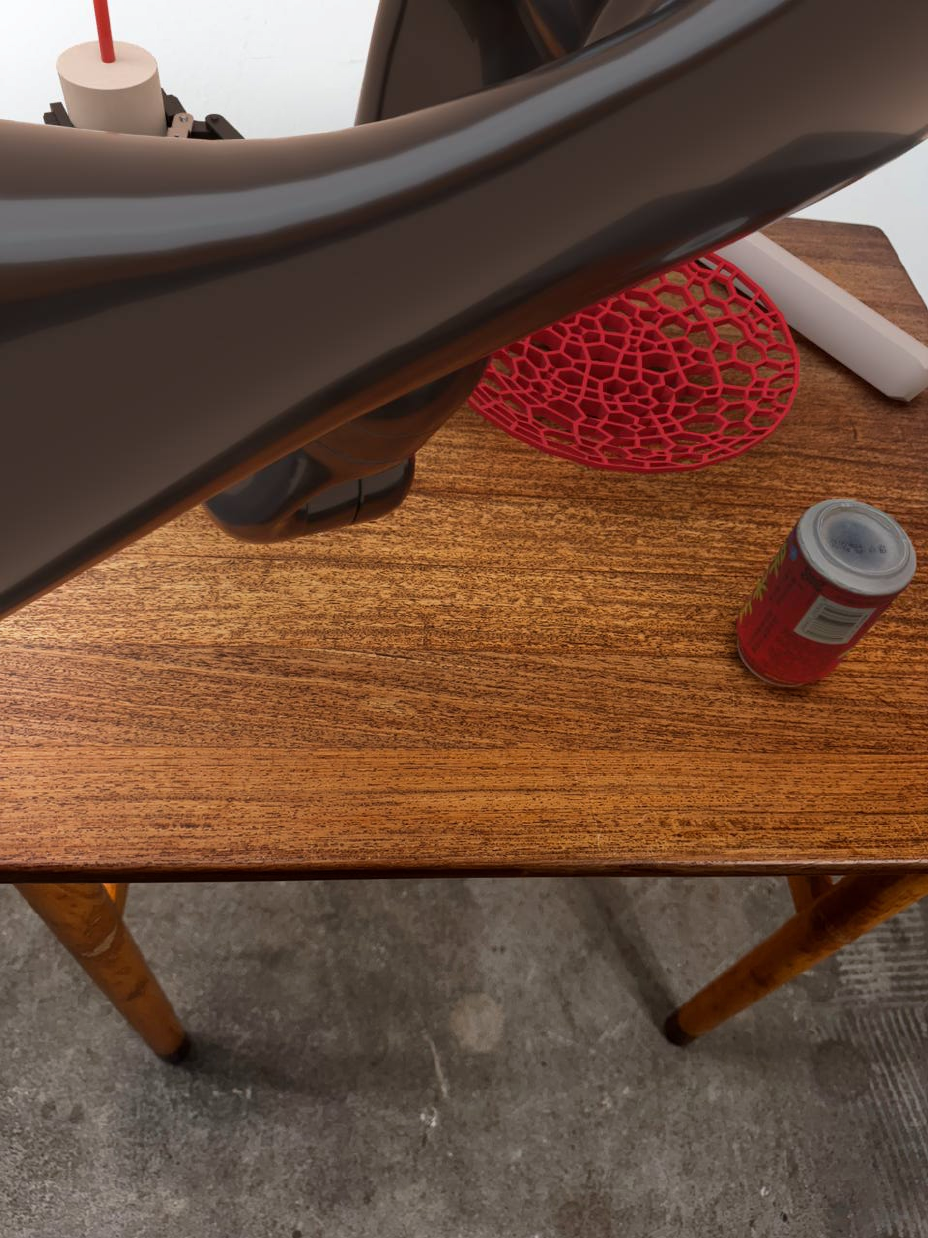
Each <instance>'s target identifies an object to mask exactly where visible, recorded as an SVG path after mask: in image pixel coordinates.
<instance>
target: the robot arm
mask: <svg viewBox="0 0 928 1238" xmlns="http://www.w3.org/2000/svg"><path fill="white" fill-rule="evenodd" d="M161 91H162V97H163V103H164V109H165V116H166V122H167V128H168V131H167V136H166V137H160V136H147V135H133V134H123V133H115V132H106V131H98V130H89V129H81V128H74V126H73V124H72V122H71V121H70V119H69V116H68V112H67V109H66V107H64V106H65V105H63V103H62V101H56V102H50V103H49V108H50V111H47V112H44V113H43V116H42V118H43V123H38V122H28V121H21V120H11V119H4V118H0V622H2V621H4V620H6V619H7V618H9V617H10V616H12V615H14V614H16V613H17V612H19V611H21V610H22V609H24V608H26V607H28V606H29V605H31V604H32V603H34V602H36V601H38V600H39V599H41V598H43V597H44V596H46V595H48V594H49V593H51V592H53V591H55V590H57V589H58V588H60V587H61V586H63V585H65V584H67V583H69V582H70V581H71V580H74V579H75V578H77V577H78V576H81V575H82V574H83V573H85V572H87V571H89V570H90V569H92V568H94V567H96V566H97V565H99V564H101V563H102V562H105V561H106V560H107V559H109V558H111V557H113V556H114V555H116V554H118V553H119V552H121V551H123V550H124V549H126V548H128V547H130V546H131V545H133V544H135V543H137V542H138V541H141V540H143V538H145V537H146V536H148V535H150V534H152V533H153V532H155V531H157V530H159V529H161V528H162V527H164V526H166V525H167V524H169V523H171V522H172V521H174V520H177V519H178V518H179V517H181V516H183V515H184V514H187V513H188V512H190V511H191V510H193V509H195V508H196V507H198V506H201V507H202V509H203V511H204V512H205V514H206V516H207V517H208V518H209V519H210V521H211V522H212V523H213V524H214V525H215V526H216V527H217V528H218V529H219V530H220V531H222V532H223V533H224V534H226V535H228V536H229V537H231V538H233V539H234V540H237V541H239V542H242V543H246V544H250V545H256V546H258V545H261V546H263V545H272V544H279V543H284V542H287V541H292V540H296V539H300V538H304V537H309V536H312V535H317V534H321V533H325V532H329V531H334V530H339V529H343V528H347V527H353V526H357V525H360V524H365V523H368V522H373V521H377V520H380V519H382V518H384V517H387V516H388V515H390V514H392V513H393V512H394V511H395V510H397V509H398V508H400V507H401V506H402V504H403V503H404V502H405V500H406V499H407V497H408V496H409V494H410V491H411V489H412V487H413V483H414V479H415V474H416V473H415V472H416V453H417V452H418V451H419V450H421V448H423V446H424V445H426V443H427V442H428V441H429V440H430V439H431V438H433V436H434V435H435V434H436V433H437V432H438V431H439V430H440V429H441V428H442V427H443V426H444V425H445V424H446V423H447V422H448V421H449V420H450V419H451V418H452V417H453V416H454V415H456V413H457V412H458V411H459V410H460V409H461V408H462V407H463V406H464V405H465V404H466V401H467V400H468V399H469V397H470V398H471V397H472V396H471V395H472V393H473V392H474V391H475V389H476V388H477V386H478V385H479V383H480V382H481V380H482V381H483V379H484V378H483V377H484V375H485V373H486V372H487V370H488V368H489V366H490V364H491V362H492V363H493V360H494V359H493V357H494V354H495V352H497V351H499V350H501V349H503V348H505V347H508V346H510V345H512V344H514V343H516V342H519V341H523V340H526V339H525V338H527V337H529V336H532V335H534V334H536V333H538V332H540V331H543V330H545V329H547V328H549V327H551V326H553V325H556V324H558V323H560V322H562V321H564V320H567V319H569V318H571V317H573V316H575V315H578V314H580V313H582V312H584V311H586V310H588V309H591V308H593V307H595V306H597V305H599V304H602V303H604V302H606V301H608V300H613V299H615V298H617V296H619V295H621V294H623V293H626V292H628V291H630V290H632V289H634V288H639V287H642V286H643V285H645V284H647V283H650V282H652V281H654V280H656V279H659V277H661V276H663V275H667V274H669V273H671V272H674V270H676V269H678V268H680V267H682V266H685V265H687V264H689V263H691V262H693V261H694V262H695V261H699V260H698V259H700V258H702V257H704V256H706V255H709V254H711V253H713V252H715V251H717V250H720V249H722V248H724V247H726V246H728V245H730V244H733V243H735V242H737V241H739V240H741V239H743V238H745V237H747V236H749V235H751V234H753V233H755V232H757V231H758V232H760V231H762V230H763V229H765V228H768V227H769V226H772V225H774V224H776V223H778V222H779V221H782V220H784V219H786V218H788V217H791V216H792V215H794V214H797V213H799V212H800V211H803V210H804V209H807V208H808V207H811V206H812V205H815V204H817V203H819V202H821V201H823V200H825V199H827V198H829V197H830V196H832V195H834V194H837V192H840V191H842V190H844V189H845V188H847V187H849V186H851V185H853V184H855V183H856V182H858V181H861V179H864V178H866V177H867V176H869V175H871V174H872V173H875V172H876V171H877V170H879V169H881V168H883V167H885V166H887V165H889V164H890V163H892V162H894V161H896V160H897V159H899V158H900V157H902V156H903V155H905V154H907V153H908V152H910V151H911V150H913V149H915V147H917V146H919V145H920V144H922V143H923V142H925V141H927V140H928V0H379V1H378V5H377V10H376V14H375V17H374V23H373V26H372V32H371V37H370V41H369V47H368V51H367V56H366V61H365V67H364V71H363V76H362V80H361V86H360V90H359V95H358V100H357V101H358V102H357V105H356V106H357V107H356V111H355V116H354V121H353V126H351V127H345V128H341V129H337V130H336V129H335V130H332V131H326V132H319V133H309V134H300V135H290V136H289V135H288V136H281V137H268V138H265V137H264V138H263V137H262V138H245V137H244V136H243V135H242V134H241V133H240V131H238V130H237V128H235V127H234V126H233V125H232V123H230V121H228V120H227V119H226V118H225V117H224V116H223V115H222V114H220V113H219V114H218V113H210V114H207V115H206V116H205V117H204V120H195V119H194V115H193V114H191V113H188V112H187V110H186V109H185V107H184V106H183V104H182V103H181V101H180V100H179V98H178V97H177V96H176V95H174V94H171V93H170V94H167V93H166V91H165V90H164V88H163V87H161Z"/></svg>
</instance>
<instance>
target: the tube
mask: <svg viewBox="0 0 928 1238" xmlns="http://www.w3.org/2000/svg"><path fill="white" fill-rule="evenodd" d="M713 253H715V254H717V255H718V256H720V257H722V258H724V259H725V260H727V261H729V262H731V263H732V264H734V265H736V266H737V267H738V268H739V269H740V270H741V271H743V272H744V273H745V274H746V275H747V276H748V277H749V278H751V279H752V280H753V281H754V282H755V283H756V284H757V285H759V286H760V287H761V288H762V289H763V290H764V291H765V293H766V294H767V295H768V296H769V298H770V299H771V300H772V301H773V303H774V304H775V305H776V306H777V308H778V309H779V310H780V312H781V313H782V314H783V315H784V318H785V320H786V323H787V325H788V327H790V328H792V329H793V330H794V331H796V332H798V333H799V334H800V335H801V336H803V337H804V338H806V339H807V340H808V341H810V342H811V343H812V344H814V345H815V346H817V347H818V348H820V349H821V350H822V351H824V352H825V353H827V354H828V355H830V356H831V357H832V358H834V359H835V360H836V361H838V362H839V363H841V364H842V365H843V366H844V367H846V368H847V369H848V370H850V371H852V372H854V374H856V375H857V376H859V377H860V378H861V379H862V380H864V381H866V382H867V383H868V384H870V385H871V386H873V387H874V389H877V390H878V391H879V392H881V393H882V394H883V395H885V396H886V397H888V398H889V399H891V400H894V401H895V400H896V401H901V402H906V403H909V402H911V400H913V399H914V398H915V397H916V396H918V395H919V394H920V393H922V392H923V391H924V390H925V389H926V388H928V347H927V346H926V345H925V344H923V343H922V342H921V341H919V340H917V339H916V338H914V337H913V336H911V334H909V333H907V332H906V331H904V330H903V329H901V328H900V327H898V326H897V325H896V324H894V323H893V322H891V321H889V319H887V318H885V317H884V316H883V315H881V314H879V313H878V312H877V311H875V310H873V309H872V308H871V307H870V306H868V305H867V304H865V303H863V302H862V301H860V300H859V299H858V298H856V297H855V296H853V295H852V294H851V293H849V292H848V291H846V290H845V289H843V288H842V287H840V286H838V285H837V284H836V283H834V282H833V281H832V280H830V279H829V278H827V277H826V276H824V275H822V274H821V273H820V272H818V271H816V270H815V269H814V268H813V267H811V266H809V265H808V264H806V263H805V262H803V261H802V260H801V259H799V258H798V257H796V255H795V256H794V254H792V253H790V252H789V251H787V250H786V249H785V248H783V247H781V246H780V245H779V244H778V243H776V242H774V241H773V240H772V239H770V238H769V237H767V236H766V235H764V234H763V233H762V232H760V231H757V232H755V233H753V234H751V235H749V236H747V237H745V238H743V239H741V240H739V241H737V242H735V243H733V244H730V245H728V246H726V247H724V248H722V249H720V250H717V251H715V252H713ZM697 261H698V262H700V263H702V264H703V265H704V266H706V267H707V268H708V269H709V270H712V271H715V269H716V268H717V267H718V266H717V265H716V264H714V263H712V262H710V261H709V260H707V259H705V258H703V257H702V258H700V259H698V260H697ZM720 273H721V274H723V275H726V276H728V277H729V276H730V275H731V274H730V273H729V272H727V271H726V270H724V269H722V270H721V272H720ZM732 282H733V284H734V287H735V289H738V290H739V291H740V292H742V293H743V294H744V295H746V296H748V298H750V299H752V298H753V297H754V295H755V294H754V293H753V292H752V291H750V290H749V289H748V288H747V287H746V286H745V285H744V284H743V283H741V282H740V281H739V280H738V279H737V278H735V279H734V280H733V281H732ZM756 303H757V304H758V305H760V306H762V307H763V308H764V309H765V310H767V308H766V307H765V306H764V305H763V303H762V302H761V301H760V300H759V298H758V300H757V301H756Z"/></svg>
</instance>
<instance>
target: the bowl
mask: <svg viewBox="0 0 928 1238" xmlns="http://www.w3.org/2000/svg"><path fill="white" fill-rule="evenodd" d="M703 258H705V259H707V260H709V261H710V262H712V263H714V264H716V265H717V266H718V267H717V268H716V269H715V271H713V270H711V269H707V268H702V267H700V265H698V264H697V263H696V262H695V261H693V262H691V263H689V264H687V265H685V266H682V267H680V268H678V269H676V270H674V271H673V272H674V273H679V274H682V276H684V277H685V279H686V280H687V281H686V283H685V284H684V285H683V286H681V285H678V284H675V283H672V282H669V281H668V280H667V279H668V278H667V276H666V275H667V274H665V275H663V276H661V277H658V280H659V282H660V284H657V285H655V286H654V287H652V288H650V289H645V288H641V287H640V288H639V287H637V288H634V289H632V290H630V291H628V292H626V293H623V294H621V295H619V296H617V297H616V299H615V298H614V299H610V300H608V301H606V302H604V303H602V304H599V305H597V306H595V307H593V308H591V309H588V310H586V311H584V312H582V313H580V314H578V315H575V316H573V317H571V318H569V319H567V320H564V321H562V322H560V323H558V324H556V325H553V326H551V327H549V328H547V329H545V330H543V331H540V332H538V333H536V334H534V335H532V336H529V337H527V338H525V339H524V340H525V341H523V340H521V341H519V342H516V343H514V344H512V345H510V346H508V347H505V348H503V349H501V350H499V351H497V352H495V354H494V357H493V359H492V360H499V361H500V362H501V363H502V364H503V365H504V366H505V367H506V368H507V370H509V371H510V375H511V376H508V375H506V374H504V373H502V372H500V371H497V369H496V367H495V365H494V363H493V361H492V362H491V364H490V366H489V368H488V370H487V372H486V373H485V375H484V377H483V379H486V380H489V381H492V382H493V383H494V384H495V385H496V386H497V388H498V389H499V390H500V391H498V390H497V389H495V388H493V387H492V386H490V385H488V384H486V383H485V382H484V381H483V379H482V380H481V382H480V383H479V385H478V386H477V388H476V389H475V391H474V392H473V393H472V395H471V396H470V397H469V399H468V400H467V401H466V402H465V404H467V405H468V406H469V407H470V408H471V409H472V410H473V411H474V412H475V413H476V414H477V415H479V416H480V417H481V418H483V419H485V420H486V421H488V423H490V424H492V425H493V426H495V427H496V428H498V429H499V430H500V431H502V432H503V433H505V434H506V435H507V436H509V437H512V438H514V439H515V440H517V441H520V442H521V443H524V444H525V445H528V446H530V447H532V448H534V449H535V450H537V451H540V452H542V453H544V454H547V455H551V456H553V457H556V458H560V459H563V460H566V461H570V462H573V463H576V464H579V465H581V466H586V467H589V468H593V469H596V470H603V471H612V472H622V473H632V474H641V475H657V474H671V473H686V472H687V473H688V472H695V471H698V470H701V469H704V468H707V467H710V466H715V465H717V464H720V463H722V462H727V461H730V460H732V459H736V458H737V457H739V456H741V455H742V454H744V453H746V452H748V451H749V450H751V449H753V448H754V447H756V446H758V445H759V444H761V443H762V442H764V441H765V440H766V439H767V438H768V437H770V436H771V435H772V434H773V433H775V431H776V430H777V429H778V427H779V426H780V425H781V423H782V422H783V421H784V419H785V418H786V416H787V415H788V413H789V412H790V410H791V407H792V404H793V402H794V400H795V396H796V393H797V391H798V388H799V385H800V369H801V368H800V364H801V363H800V362H801V357H800V354H799V352H798V349H797V346H796V344H795V341H794V339H793V336H792V334H791V333H792V332H791V331H790V329H789V325H788V324H787V323H786V320H785V318H784V315H783V314H782V313H781V312H780V310H779V309H778V308H777V306H776V305H775V304H774V303H773V301H772V300H771V299H770V298H769V296H768V295H767V294H766V293H765V291H764V290H763V289H762V288H761V287H760V286H759V285H757V284H756V283H755V282H754V281H753V280H752V279H751V278H749V277H748V276H747V275H746V274H745V273H744V272H743V271H741V270H740V269H739V268H738V267H737V266H736V265H734V264H732V263H731V262H729V261H727V260H725V259H724V258H722V257H720V256H718V255H717V254H715V253H711V254H709V255H706V256H704V257H703ZM722 269H724V270H726V271H727V272H729V273H730V274H731V275H730V276H729V277H728V276H726V275H723V274H721V273H720V272H721V270H722ZM735 278H737V279H738V280H739V281H740V282H741V283H743V284H744V285H745V286H746V287H747V288H748V289H749V290H750V291H752V292H753V293H754V294H755V295H754V297H753V298H751V300H750V299H748V298H746V297H744V296H742V295H740V294H738V293H737V290H736V287H735V286H734V284H733V282H732V281H733V280H734V279H735ZM713 281H714V282H717V283H719V284H721V285H723V286H725V287H726V290H727V293H728V296H729V297H728V298H727V299H725V300H724V299H722V298H719V297H718V296H714V295H712V293H711V289H710V284H712V282H713ZM693 285H694V286H697V287H700V288H701V290H702V292H703V295H704V298H703V299H700V300H698V301H697V300H696V299H695V297H694V296H693V294H692V293H691V291H690V289H691V287H692V286H693ZM662 293H667V294H671V295H675V296H680V297H681V298H682V300H683V301H684V303H685V305H686V306H685V307H683V308H680V309H679V310H677V309H675V308H672V307H671V306H669V305H666V304H665V303H663V302H661V300H660V299H659V298H658V296H659V295H661V294H662ZM758 298H759V300H760V301H761V302H762V303H763V305H764V306H765V307H766V308H767V309H766V308H765V309H766V310H767V311H768V312H766V313H765V312H764V311H763V310H762V309H760V307H759V306H758V305H756V303H757V302H756V301H757V300H758ZM632 301H636V302H637V301H639V302H644V303H646V304H647V305H648V307H645V306H644V307H643V306H639V305H637V304H635V303H634V302H632ZM731 304H735V305H737V306H739V307H740V308H743V309H744V310H745V311H744V312H739V313H738V312H737V313H733V312H732V309H731V307H730V305H731ZM707 305H708V306H711V307H714V308H716V309H718V310H721V312H722V316H718V317H715V318H710V317H709V316H708V315H707V313H706V312H705V311H704V310H703V308H704V307H705V306H707ZM618 312H620V313H618ZM621 313H622V314H621ZM749 314H751V315H752V316H753V317H754V318H752V317H751V316H749ZM690 316H693V317H694V319H695V320H696V321H691V320H690V319H689V318H688V317H690ZM773 320H775V321H776V322H774V321H773ZM647 322H648V323H647ZM760 324H762V325H764V326H765V327H766V328H767V330H764V329H759V327H758V326H759V325H760ZM671 325H675V326H677V327H678V328H680V329H681V330H683V331H684V332H685V333H684V335H682V336H678V337H673V338H668V337H667V336H666V334H664V333H663V331H662V330H661V329H663V328H666V327H669V326H671ZM725 325H730V326H731V327H733V328H735V329H737V330H739V331H740V333H741V336H742V338H743V340H742V341H739V342H737V343H734V344H732V343H730V342H728V341H725V340H723V339H721V338H720V336H719V334H718V331H717V328H719V327H722V326H725ZM603 327H607V328H608V329H611V330H613V331H607V330H604V328H603ZM615 331H616V332H615ZM774 331H780V332H781V335H782V337H783V340H784V342H785V343H781V342H778V341H777V340H776V338H775V337H774V336H773V335H772V332H774ZM701 332H704V333H705V334H706V336H707V339H708V340H709V343H710V344H711V345H710V346H709V348H703V347H699V346H694V344H693V343H692V342H691V340H690V339H689V336H690V335H691V334H696V333H701ZM758 339H759V340H758ZM760 340H765V342H766V343H767V344H764V343H762V342H761V341H760ZM530 342H533V343H537V344H542V345H545V346H546V347H548V348H549V349H550V350H548V351H543V350H541V349H540V348H538V347H536V346H534V345H532V344H530ZM746 347H749V348H751V349H752V350H755V351H756V352H757V353H759V356H760V360H759V361H757V362H756V363H753V364H752V363H749V362H747V361H744V360H741V359H739V358H738V357H737V355H738V354H737V351H738V350H740V349H743V348H746ZM716 350H717V351H719V352H723V353H727V354H729V359H727V360H724V361H720V362H717V360H716V358H715V356H714V353H715V352H716ZM678 351H680V352H681V353H680V352H679V353H678ZM771 351H777V352H781V353H785V354H789V356H790V360H787V361H783V362H782V361H779V360H776V359H773V358H769V357H768V355H767V354H768V352H771ZM509 352H511V353H513V354H515V355H516V357H512V356H510V354H509ZM599 360H601V361H599ZM698 362H704V363H698ZM652 367H659V368H663V369H667V371H663V372H658V371H655V370H652V369H648V368H652ZM761 367H763V368H766V369H771V370H773V371H778V372H777V373H776V374H774V375H772V376H771V377H769V378H763V377H759V375H758V372H757V370H758V369H760V368H761ZM790 368H792V370H791V369H790ZM729 369H734V370H736V371H739V372H742V373H745V374H748V375H749V376H750V380H751V382H749V384H748V385H747V386H741V385H740V386H739V385H732V384H726V383H724V381H723V378H722V375H721V373H722V372H724V371H727V370H729ZM787 369H790V370H787ZM520 372H521V373H523V374H521V373H520ZM691 376H709V377H710V380H711V382H712V385H709V386H702V385H698V384H695V383H692V382H689V381H688V379H687V378H689V377H691ZM781 379H792V383H791V384H789V385H786V386H783V387H781V388H770V387H769V386H770V385H772V384H774V383H776V382H778V381H780V380H781ZM671 385H673V386H674V387H675V388H673V387H670V386H671ZM788 393H790V394H789V396H788V400H787V403H786V404H781V403H780V402H779V401H778V400H777V398H778V397H781V396H783V395H786V394H788ZM721 395H723V396H733V397H734V396H735V397H741V400H737V401H736V400H735V401H729V402H728V401H727V400H726V399H724V398H723V397H721ZM684 396H686V397H690V398H694V399H698V400H696V401H694V402H691V403H685V402H676V401H679V400H680V399H681V398H682V397H684ZM749 397H759V399H757V400H750V399H749ZM659 401H660V402H659ZM506 402H510V403H511V404H513V405H514V406H515V407H517V408H518V409H519V410H520V411H521V412H519V411H517V410H515V409H513V408H512V407H511V406H510V405H509V404H508V403H506ZM763 404H768V405H770V406H771V407H772V408H771V409H769V408H760V407H758V406H760V405H763ZM707 406H714V407H716V408H717V411H716V412H710V413H698V411H697V410H699V409H700V408H703V407H707ZM739 410H743V411H744V412H746V413H747V415H746V417H745V418H744V419H743V420H728V419H727V418H726V417H724V416H723V415H724V414H725V413H727V412H733V411H739ZM780 413H781V414H780ZM587 415H588V416H587ZM533 416H537V417H542V418H544V419H546V420H548V421H550V422H552V423H554V424H555V425H557V426H560V427H561V428H563V429H565V430H567V431H568V432H567V431H563V430H559V429H555V428H552V427H549V426H547V425H545V424H543V423H542V422H540V421H539V420H537V419H535V418H534V417H533ZM589 416H593V417H589ZM595 417H597V418H595ZM675 417H681V418H679V419H676V418H675ZM753 417H759V418H761V417H762V418H768V419H770V420H771V421H773V422H774V423H773V425H772V426H762V427H755V426H754V425H753V424H752V423H751V422H750V421H751V420H752V418H753ZM706 423H708V424H709V423H712V424H714V425H715V426H717V428H719V429H718V430H717V431H713V432H709V433H705V434H703V433H699V432H693V431H687V430H684V428H687V427H688V426H690V425H693V424H706ZM741 428H742V429H743V430H744V432H746V433H744V434H743V435H741V436H729V435H727V436H725V435H724V434H723V432H724V431H726V430H733V429H741ZM584 436H585V437H584ZM586 436H587V437H586ZM615 436H617V437H615ZM547 437H550V438H554V439H557V440H561V441H565V442H568V443H572V444H568V445H567V444H564V443H561V442H559V441H555V440H552V439H549V438H547ZM588 437H589V438H588ZM590 437H591V438H590ZM592 438H594V439H596V440H594V439H592ZM677 441H684V442H692V443H698V444H694V445H684V444H683V445H682V444H677V443H676V442H677ZM657 445H659V446H661V447H662V448H664V449H649V448H648V446H657ZM739 445H743V446H741V447H739V448H738V449H733V448H735V447H737V446H739ZM646 446H647V448H646ZM706 450H711V451H707V452H705V453H699V452H702V451H706ZM602 452H604V453H608V454H613V455H617V456H621V457H611V456H605V454H603V453H602ZM673 453H674V454H673ZM679 460H694V461H700V462H695V463H691V464H683V463H678V462H675V461H679Z"/></svg>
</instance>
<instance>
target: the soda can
mask: <svg viewBox="0 0 928 1238" xmlns="http://www.w3.org/2000/svg"><path fill="white" fill-rule="evenodd" d="M916 572H917V553H916V551H915V548H914V546H913V544H912V541H911V540H910V537H909V536H908V534H907V533H906V531H905V530H904V529H903V527H901V525H900V524H899V523H898V521H896V520H895V519H894V518H893V517H892V516H891V515H890V514H888V513H886V512H885V511H882V510H880V509H879V508H877V507H874V506H873V505H870V504H867V503H865V502H861V501H858V500H854V499H849V498H833V499H826V500H823V501H821V502H818V503H816V504H813V505H811V506H810V507H809V508H807V510H805V511H804V512H803V513H802V514H801V516H800V517H799V518H798V519H797V521H796V522H795V524H794V526H793V527H792V529H791V531H790V532H789V534H788V535H787V537H786V538H785V540H784V541H783V543H782V544H781V546H780V548H779V549H778V551H777V552H776V554H775V556H774V558H772V560H771V562H770V563H769V564H768V566H767V568H766V569H765V571H764V573H763V574H762V575H761V577H760V579H759V581H758V582H757V583H756V585H755V586H754V588H753V590H752V591H751V592H750V594H749V595H748V597H747V598H746V600H745V602H744V603H743V605H742V606H741V608H740V610H739V613H738V615H737V619H736V634H737V638H736V639H737V640H736V646H737V650H738V651H737V652H738V654H739V657H740V659H741V661H742V662H743V664H744V665H745V666H746V668H748V670H749V671H750V672H751V673H752V674H753V675H755V676H756V677H757V678H758V679H760V680H762V681H763V682H765V683H768V684H771V685H775V686H778V687H781V688H782V687H784V688H793V687H795V688H796V687H799V686H801V685H804V684H809V683H814V682H817V681H820V680H822V679H824V678H826V677H827V676H829V675H830V674H831V673H833V672H834V671H835V669H836V668H837V667H839V665H840V664H841V663H842V662H843V660H844V659H845V658H846V657H847V656H848V654H850V652H851V651H852V650H853V649H854V648H855V647H856V646H857V644H858V643H859V642H860V641H861V640H862V639H863V638H864V637H865V635H866V634H867V633H868V632H869V631H870V630H871V629H872V628H873V626H874V625H875V624H876V623H877V622H878V620H879V619H880V618H881V617H882V616H883V614H885V613H886V611H887V610H888V609H889V607H890V606H891V605H892V604H893V602H895V600H896V599H897V598H899V596H900V595H901V594H902V593H903V592H904V591H905V589H906V588H908V586H909V585H910V584H911V582H912V581H913V578H914V576H915V574H916Z"/></svg>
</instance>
